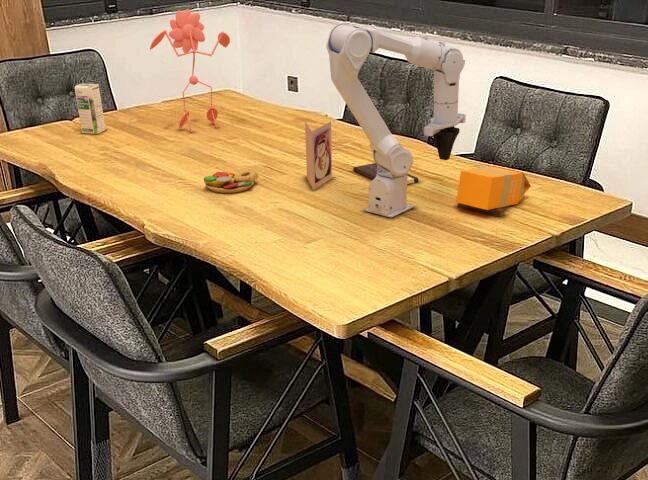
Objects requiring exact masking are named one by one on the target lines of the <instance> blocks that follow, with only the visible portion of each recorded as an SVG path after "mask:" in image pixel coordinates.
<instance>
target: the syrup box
mask: <svg viewBox="0 0 648 480" xmlns="http://www.w3.org/2000/svg"><path fill="white" fill-rule="evenodd" d="M74 93H75V99H76V104H77V109H78V117H79V122H80V128H81V133H82V134H91V135H98V134H101V133H103V132H104V131H106V129H107V128H106V123H105V116H104V110H103V104H102V96H101V90H100V85H99V83H95V84H94V83H79V84H77V85H75V86H74Z"/></svg>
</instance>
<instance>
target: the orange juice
mask: <svg viewBox="0 0 648 480" xmlns="http://www.w3.org/2000/svg"><path fill="white" fill-rule="evenodd" d="M458 181H459V182H458V189H457V195H456V201H455V202H456V203H457V204H458V203H461V204H465V205H469V206H473V207H477V208H481V209H485V210H489V209H494V208H503V207H508V206H513V205H518V204H519V202H520V201H521V200H522V198H524V196H525V194H526V193H527V192H528V190H530V188H531V187H532V185H531V183H530V182H529V180H528V178H527V177H526V175H525V173H524V171H520V170H515V169H511V168H505V167H500V166H496V165H492V166H491V165H490V166H485V167H477V168H470V169H463V170H460V174H459V180H458Z"/></svg>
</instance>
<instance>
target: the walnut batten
mask: <svg viewBox="0 0 648 480" xmlns="http://www.w3.org/2000/svg"><path fill="white" fill-rule="evenodd" d="M457 208H461V209H464V210H469V211H473V212H475V213H476V212H477V213H481V214H485V215H489V216H493V217H497V218H502V217H504V216H505V212H506V209H505V208H503V207H499V208H494V209H489V210H485V209H481V208H477V207H473V206H469V205H465V204H461V203H457Z"/></svg>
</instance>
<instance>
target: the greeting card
mask: <svg viewBox="0 0 648 480" xmlns="http://www.w3.org/2000/svg"><path fill="white" fill-rule="evenodd" d="M304 126H305V127H304V130H305V132H304V133H305V134H304V135H305V161H306V165H305V167H306V179H307V181H308V183H309V184H310V187H311V190H313V191H315V190H316V189H318V188H320V187H321V186H322V185H324V184H325V183H327V182H328V181H330V180H331V179H332V178H333V158H332V155H333V153H332V151H333V150H332V120H330V121H328V122H326V123H324V124H322V125H320V126H319V127H317V128H315V129H313V130H311V128H310V126H309V124H308V123H307V121H306V120H304Z"/></svg>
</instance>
